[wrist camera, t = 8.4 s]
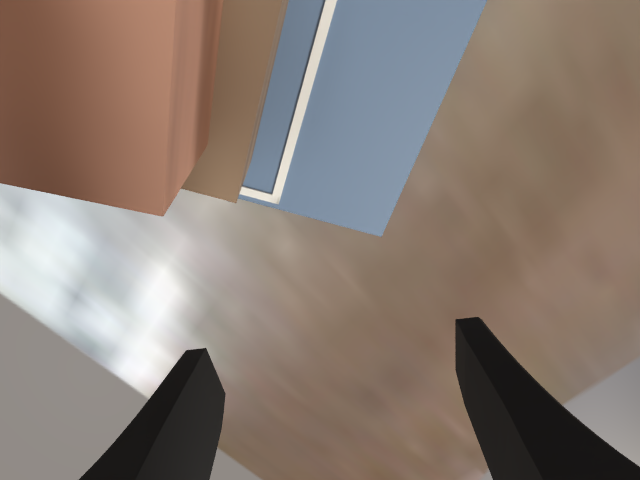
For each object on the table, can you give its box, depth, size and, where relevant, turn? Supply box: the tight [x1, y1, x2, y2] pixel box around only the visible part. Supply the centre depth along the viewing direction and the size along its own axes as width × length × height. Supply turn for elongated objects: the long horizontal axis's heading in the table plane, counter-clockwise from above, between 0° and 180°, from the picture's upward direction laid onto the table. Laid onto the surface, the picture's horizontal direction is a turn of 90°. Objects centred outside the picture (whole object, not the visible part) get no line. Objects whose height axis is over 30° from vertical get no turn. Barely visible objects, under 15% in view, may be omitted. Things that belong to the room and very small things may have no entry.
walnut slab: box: [181, 0, 289, 203], centre depth 15 cm, size 8×8×4 cm
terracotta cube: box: [0, 0, 224, 216], centre depth 12 cm, size 5×5×5 cm
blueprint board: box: [238, 0, 487, 237], centre depth 17 cm, size 18×16×1 cm
